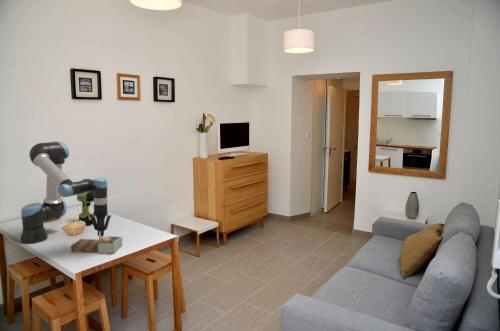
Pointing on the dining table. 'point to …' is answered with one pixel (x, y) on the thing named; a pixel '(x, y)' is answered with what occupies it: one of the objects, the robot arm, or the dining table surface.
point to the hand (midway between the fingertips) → (100, 240)
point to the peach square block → (105, 240)
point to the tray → (110, 246)
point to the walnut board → (85, 246)
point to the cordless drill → (86, 207)
